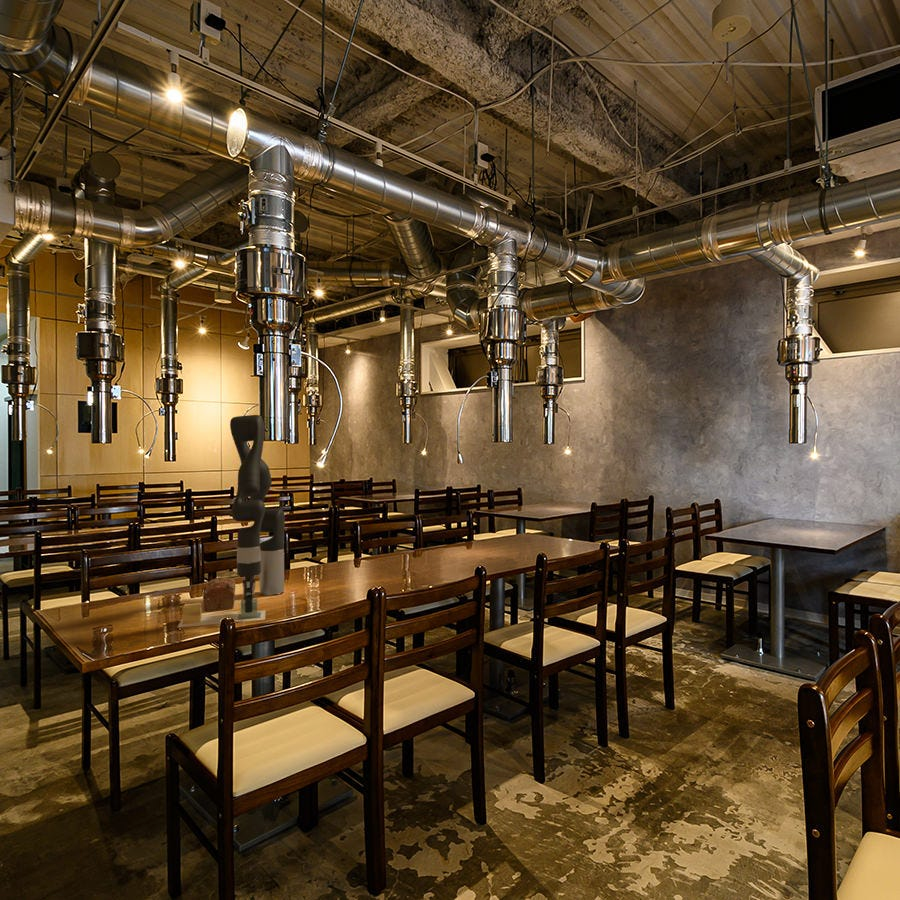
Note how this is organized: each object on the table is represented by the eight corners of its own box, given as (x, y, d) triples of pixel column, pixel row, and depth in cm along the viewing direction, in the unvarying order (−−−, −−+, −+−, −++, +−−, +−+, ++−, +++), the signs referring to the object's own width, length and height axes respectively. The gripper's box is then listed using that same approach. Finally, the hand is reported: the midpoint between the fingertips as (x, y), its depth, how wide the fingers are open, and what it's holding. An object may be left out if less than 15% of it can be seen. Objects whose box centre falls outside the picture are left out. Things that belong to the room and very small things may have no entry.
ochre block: (184, 619, 188) (184, 604, 188) (201, 618, 189) (201, 603, 189) (182, 624, 183) (182, 608, 183) (199, 622, 185) (199, 606, 185)
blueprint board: (183, 619, 191) (183, 617, 191) (265, 612, 198) (265, 610, 198) (177, 629, 179) (177, 626, 179) (264, 621, 187) (264, 619, 187)
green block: (241, 614, 193) (241, 599, 193) (257, 613, 194) (257, 598, 195) (240, 618, 188) (240, 603, 188) (257, 617, 190) (257, 601, 190)
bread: (234, 611, 201) (234, 583, 201) (201, 614, 197) (201, 585, 198) (236, 599, 218) (236, 573, 219) (205, 602, 215) (205, 575, 215)
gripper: (238, 557, 197) (238, 605, 197) (235, 564, 184) (235, 615, 183) (261, 556, 199) (261, 603, 199) (260, 562, 186) (260, 613, 186)
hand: (249, 609), depth 191 cm, fingers open, 8 cm apart
